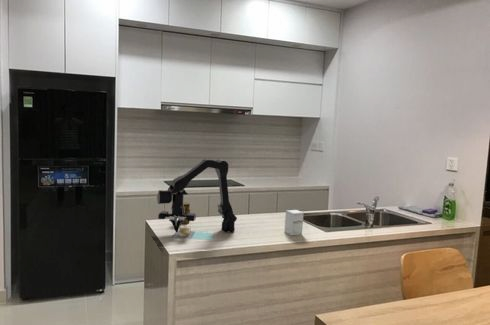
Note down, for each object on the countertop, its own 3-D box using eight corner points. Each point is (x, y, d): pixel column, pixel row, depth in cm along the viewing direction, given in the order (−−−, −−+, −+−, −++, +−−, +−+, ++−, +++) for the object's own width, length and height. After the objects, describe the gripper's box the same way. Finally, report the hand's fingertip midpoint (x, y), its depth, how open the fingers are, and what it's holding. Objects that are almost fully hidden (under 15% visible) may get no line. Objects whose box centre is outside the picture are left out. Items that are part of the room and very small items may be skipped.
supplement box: (291, 236, 213) (292, 213, 211) (283, 232, 219) (285, 210, 218) (302, 234, 216) (304, 212, 215) (294, 230, 223) (296, 209, 221)
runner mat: (214, 233, 209) (214, 232, 209) (210, 241, 197) (210, 239, 197) (177, 231, 210) (177, 230, 210) (171, 238, 198) (171, 237, 198)
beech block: (190, 233, 206) (190, 226, 205) (188, 236, 201) (188, 228, 200) (181, 232, 206) (181, 225, 206) (179, 235, 201) (179, 228, 201)
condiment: (186, 221, 230) (187, 201, 229) (194, 225, 224) (194, 204, 222) (175, 223, 226) (176, 202, 224) (183, 226, 219) (183, 205, 218)
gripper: (198, 200, 209) (197, 228, 211) (164, 198, 210) (163, 226, 212) (194, 205, 198) (193, 235, 200) (158, 203, 199) (157, 232, 201)
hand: (176, 232), depth 204 cm, fingers closed
